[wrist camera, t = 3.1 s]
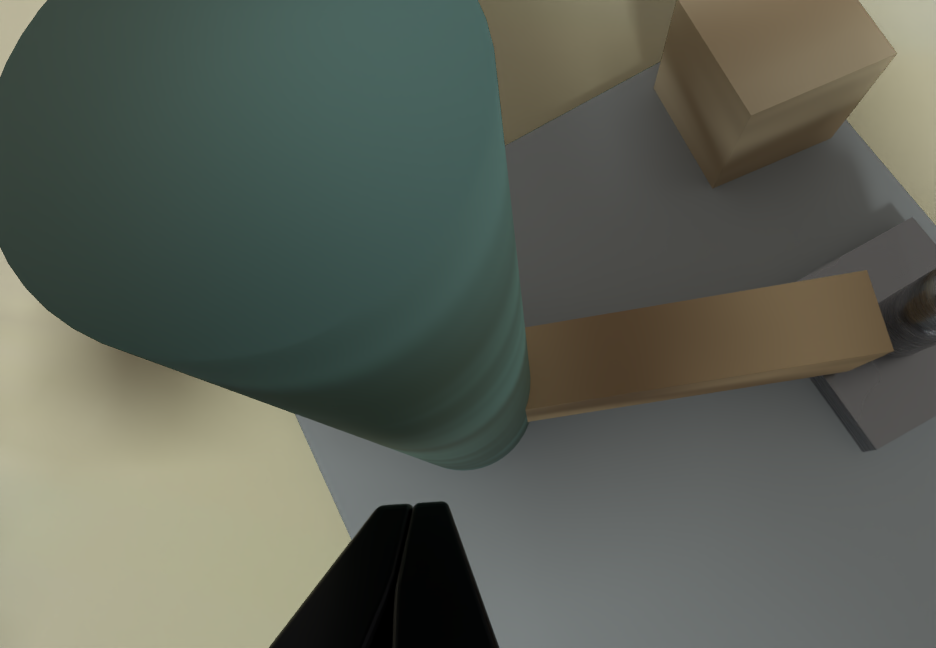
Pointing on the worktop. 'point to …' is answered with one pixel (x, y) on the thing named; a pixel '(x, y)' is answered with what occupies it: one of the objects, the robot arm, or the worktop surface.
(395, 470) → the yard mat
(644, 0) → the worktop surface
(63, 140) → the gate
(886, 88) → the worktop surface
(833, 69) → the block
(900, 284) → the post on square base
